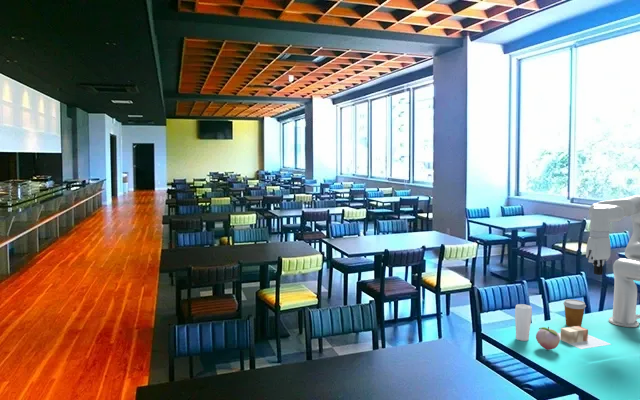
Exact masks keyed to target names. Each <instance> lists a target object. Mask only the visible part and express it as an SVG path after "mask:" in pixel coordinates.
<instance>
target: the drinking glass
mask: <svg viewBox="0 0 640 400" xmlns="http://www.w3.org/2000/svg"><path fill="white" fill-rule="evenodd" d="M514 309H515V311H514V318H515V320H514V321H515V339H516V340H518V341H521V342H527V341H529V339H530V331H531V330H530V329H531V324H532V323H531V322H532V317H533V316H532V314H533V307H532V306H531V305H528V304H524V303H523V304H522V303H518V304H516V305H515V308H514Z"/></svg>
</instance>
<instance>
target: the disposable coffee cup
mask: <svg viewBox="0 0 640 400" xmlns="http://www.w3.org/2000/svg"><path fill="white" fill-rule="evenodd" d="M563 306H564V315H565V318H564V319H565V325H566V326H567V327H574V326H580V327H582V324H583V318H584V314H585V310H586V307H587V305H586V303H585V301H583V300H579V299H571V298H569V299H565V300H564V301H563Z"/></svg>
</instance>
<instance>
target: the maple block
mask: <svg viewBox="0 0 640 400" xmlns="http://www.w3.org/2000/svg"><path fill="white" fill-rule="evenodd" d="M560 333H561V340H560V341H562V340H563V341H562V342H564V341H565V342H564V343H566V342H567V343H566V344H568V343H575V342H582V341H587V340H588V335H589V328H585V327H582V326H581V327H580V326H574V327H569V326H567V327H561V328H560Z"/></svg>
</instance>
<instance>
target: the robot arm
mask: <svg viewBox="0 0 640 400" xmlns="http://www.w3.org/2000/svg"><path fill="white" fill-rule="evenodd" d="M588 216H589V217H590V220H589V222H590V223H589V224H590V226H589V227H590V228H589V237H588V239H587V243H586V250H585V257H586V259H588V260H587V261H588V263H592V265H593V274H594V275H597V276H601V275H603V272H604V270H603V269H604V266H605V263H606V262H607V261H609V260H610V258H611V252H612V251H611V248H612V247H611V238H610V223H619V222H621V221H622V220H623V219H624V218H625V217H630V220H631V224H632V235H631V237H630V238H629V241H628V243H627V245H626V247H625V249H624V255H625V257H626V258H618V259H616V260H615V261H614V262H613V265H612V270H613V278H614V286H613V288H614V289H613V304H612V316H611V317H609V318H608V322H609V323H610V324H613V325H615V326H619V327H625V328H637V327H639V326H640V323H639V321H637V320H638V319H640V314H639V313H638V314H637V302H638V301H637V299H638V287H637V284H636V282H640V194H635V195H631V196H627V197H625V198H619V199H618V198H617V199H610V200H602V201H598V202H594V203H592V205H590V207H589V209H588ZM635 281H636V282H635Z"/></svg>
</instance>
